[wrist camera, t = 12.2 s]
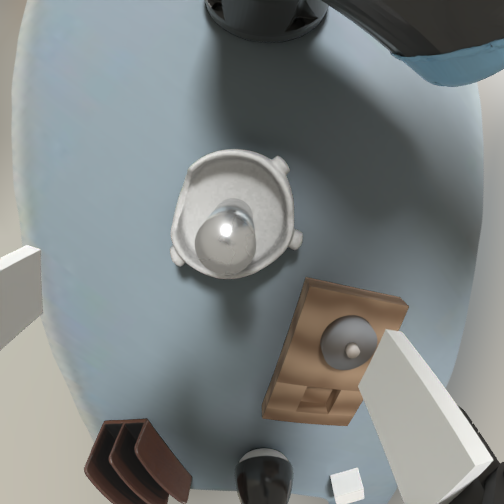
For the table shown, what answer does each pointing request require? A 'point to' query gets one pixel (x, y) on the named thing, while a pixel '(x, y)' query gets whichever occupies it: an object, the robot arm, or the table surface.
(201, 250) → the pin
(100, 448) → the letter holder
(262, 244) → the dish
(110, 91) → the table surface
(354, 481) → the white cube
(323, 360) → the plate
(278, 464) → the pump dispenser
